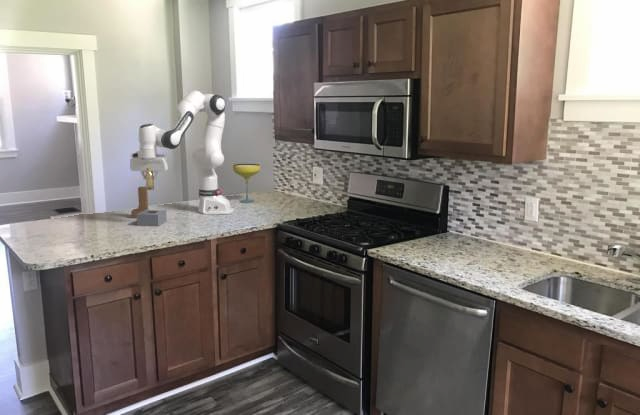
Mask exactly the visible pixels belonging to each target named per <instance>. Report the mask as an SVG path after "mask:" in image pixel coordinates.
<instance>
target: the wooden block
mask: <svg viewBox="0 0 640 415" xmlns="http://www.w3.org/2000/svg"><path fill="white" fill-rule="evenodd" d="M137 194H138V195H137V196H138V207H137V208H134V209H131V213H130V214H131V219H137V214H138V213H140V212H142V211H144V210H149V199H148V196H149V194H148V190H147V189H146V186H139V187H138V188H137Z"/></svg>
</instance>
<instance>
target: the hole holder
mask: <svg viewBox="0 0 640 415" xmlns="http://www.w3.org/2000/svg"><path fill="white" fill-rule="evenodd" d="M166 222H167V210H166V209H165V210H164V209H148V210H144V211H142V212H140V213H138V214H137V218H136V225H137V226H138V227H139V226H141V227H160V226H161V225H163V224H165V223H166Z"/></svg>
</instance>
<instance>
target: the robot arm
mask: <svg viewBox="0 0 640 415" xmlns="http://www.w3.org/2000/svg"><path fill="white" fill-rule="evenodd" d="M225 109H226V100H225V98H224V97H223V96H222V95H219V94H213V93H202V92H201V91H199V90H191V92H189V93H188V94H186V95H185V96H184V97H183V98H182V99H181V100H180V102H178V104H177V106H176V107H175V111H176V114H177V116H178V118H179V120H178V121H177V123H176V125H175V126H174V127H173V128H172V129H169V130H168V129H162V128H159V127H157V126H156V125H155V124H153V123H145V124H142V125H140V126H139V128H138V142H139V150H138V151H136V152H132V153H130V162H129V168H130V170H131V171H132V172H140V175H141V176H142V179H143V180H146V172H145V171H146V168H149V170H150V171H153V176H152V178H153V179H154V181H156V180H157V176H158V174H159V172H168V170H169V166H168V157H167V156H166V154H164V153H163V154H158V153H157V152H158V150H157V147H158V148H163V149H164V148H166V149H169V150H174V149H177V148H178V147H179V146H180V143H181V141H182V138H183V137H184V135H185V133H186V132H187V130H189V127H190V126H191V124H192V123H193V121H194V119H195V116H196V115H197V114H198V112H202V113H207V114H206V115H207V117H206V118H207V119H206V121H205V126H204V131H203V134H202V136H203V137H202V138H203V140H204V147H200V148H199V147H198V148H196V149H194V150H193V152H192V154H191V158H192V161H193V162H194V164H195V166H196V170H197V174H198V180H199V182H198V183H199V189H198V196H199V197H198V198H199V203H198V209H197V212H198V213H200V214H203V215H230V214H232V213H234V212H235V208H234V207H232V206H231V202H230V200H229V199H227V198H226V197H225V196H224V195H223V194H222V189H219V184H218V179H219V178H218V174H217V173H216V171H215V170H214V168H219V167H221V166H222V165H223V164H224V162H225V156H224V154H223V150H222V137H223V133H224V129H225V122H226V114H225Z"/></svg>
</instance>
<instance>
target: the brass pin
mask: <svg viewBox="0 0 640 415" xmlns="http://www.w3.org/2000/svg"><path fill="white" fill-rule="evenodd" d="M145 176H146V179H145V185H146V186H145V187H146V189H147V191H153V190H155V180H154V179H153V178H152V176H154V171H150V170H149V168H146V171H145Z"/></svg>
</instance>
